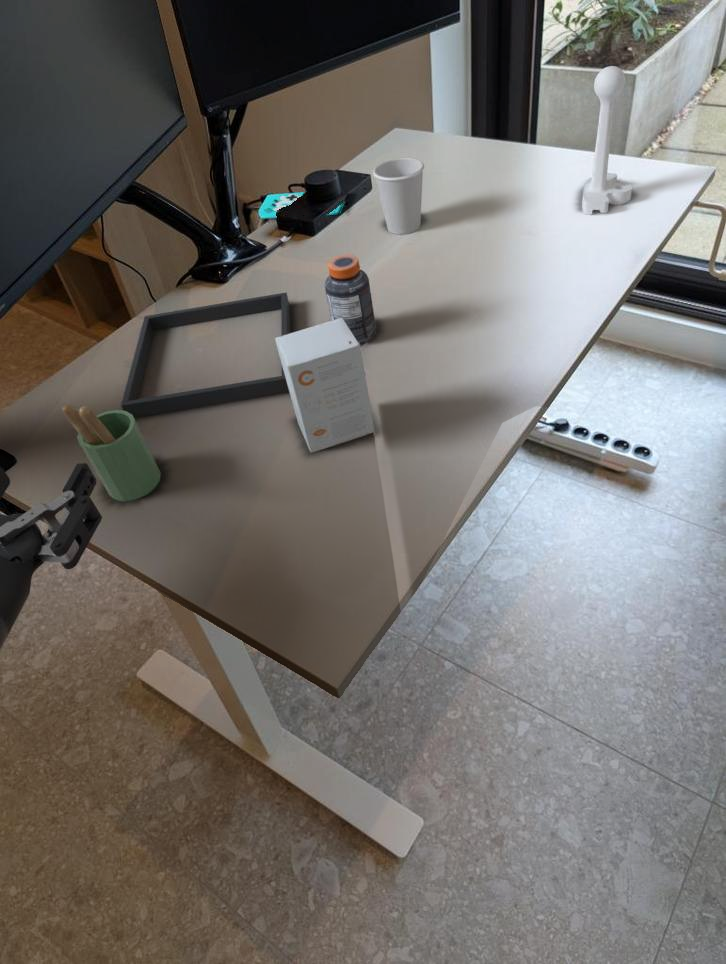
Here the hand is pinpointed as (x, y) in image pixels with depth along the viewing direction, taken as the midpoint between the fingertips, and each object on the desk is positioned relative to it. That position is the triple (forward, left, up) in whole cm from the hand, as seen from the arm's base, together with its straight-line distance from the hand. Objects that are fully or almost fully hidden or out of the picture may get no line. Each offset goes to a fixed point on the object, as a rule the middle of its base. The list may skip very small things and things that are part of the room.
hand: (44, 471), depth 62 cm
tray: (+10, +34, -14) cm, 38 cm away
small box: (+26, +15, -14) cm, 33 cm away
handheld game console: (+24, +81, -14) cm, 85 cm away
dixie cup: (+41, +66, -14) cm, 79 cm away
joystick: (+75, +63, -14) cm, 99 cm away
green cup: (+2, +11, -14) cm, 18 cm away
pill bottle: (+30, +35, -14) cm, 48 cm away
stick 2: (+3, +10, -6) cm, 12 cm away
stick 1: (+1, +10, -6) cm, 12 cm away
